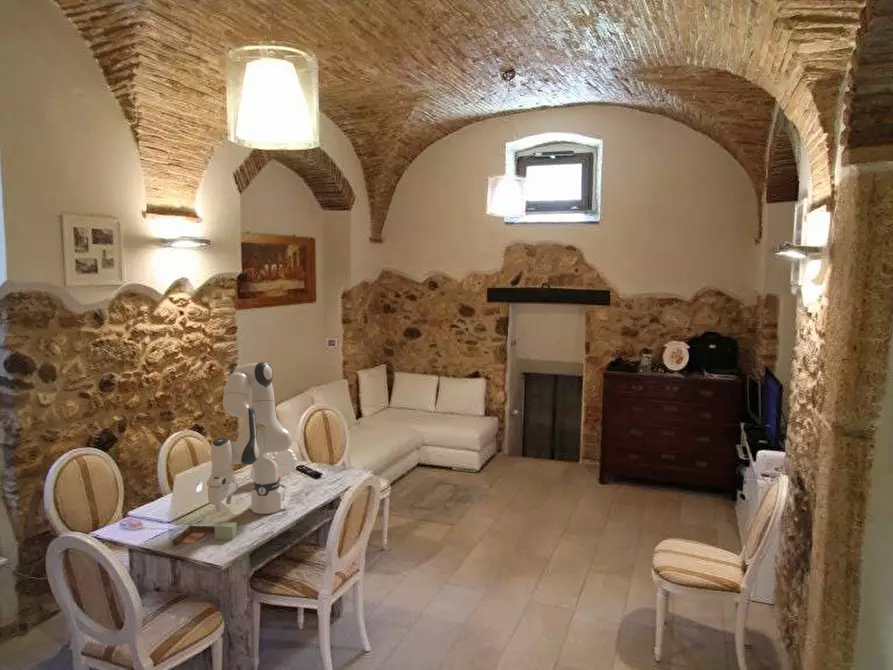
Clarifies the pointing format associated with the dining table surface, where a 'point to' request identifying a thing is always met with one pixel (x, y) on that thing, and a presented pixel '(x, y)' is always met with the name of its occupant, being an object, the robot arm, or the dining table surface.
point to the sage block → (226, 530)
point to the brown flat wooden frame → (193, 534)
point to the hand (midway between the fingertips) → (224, 507)
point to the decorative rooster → (282, 462)
